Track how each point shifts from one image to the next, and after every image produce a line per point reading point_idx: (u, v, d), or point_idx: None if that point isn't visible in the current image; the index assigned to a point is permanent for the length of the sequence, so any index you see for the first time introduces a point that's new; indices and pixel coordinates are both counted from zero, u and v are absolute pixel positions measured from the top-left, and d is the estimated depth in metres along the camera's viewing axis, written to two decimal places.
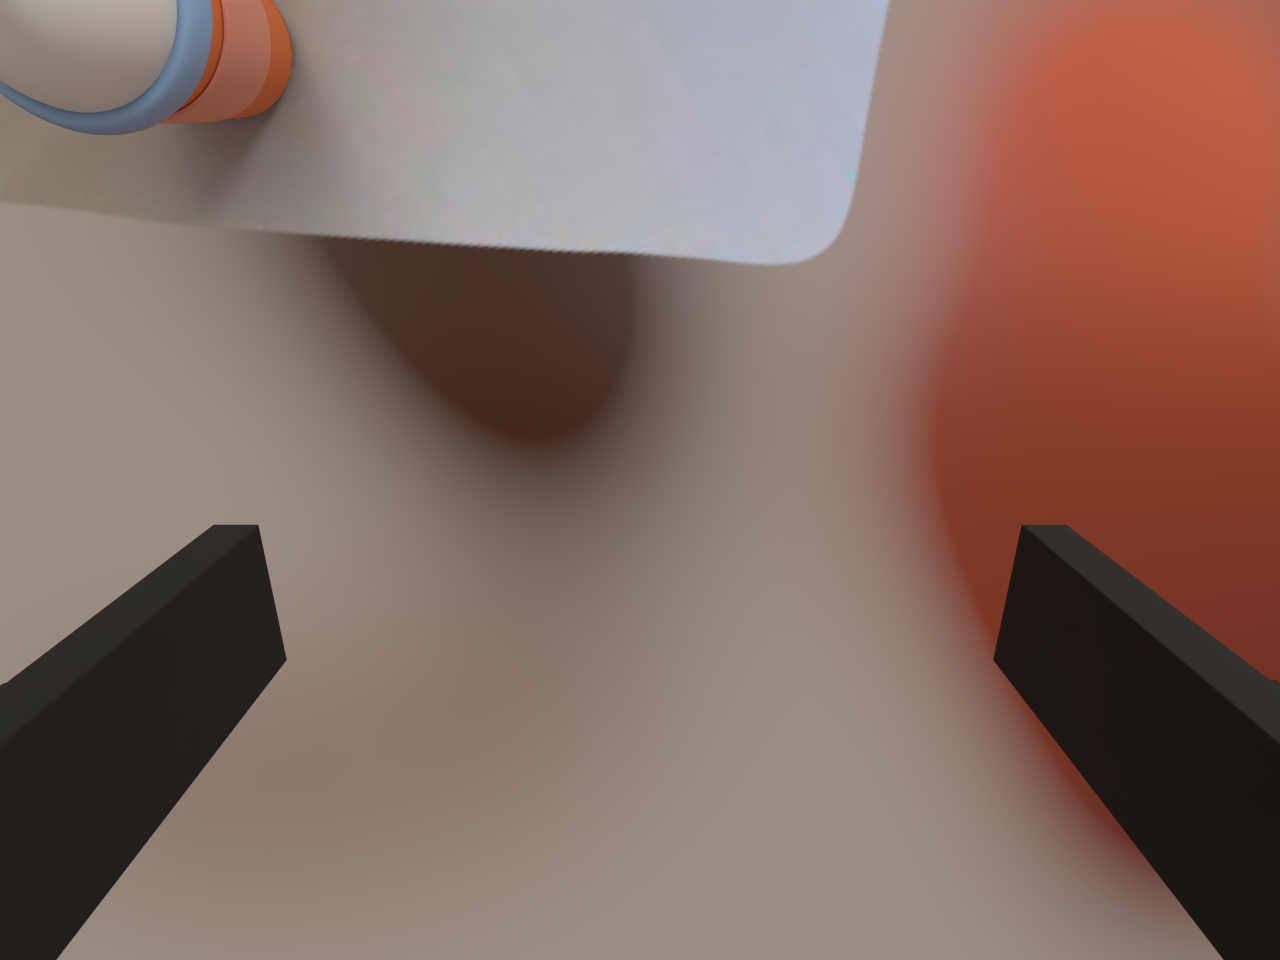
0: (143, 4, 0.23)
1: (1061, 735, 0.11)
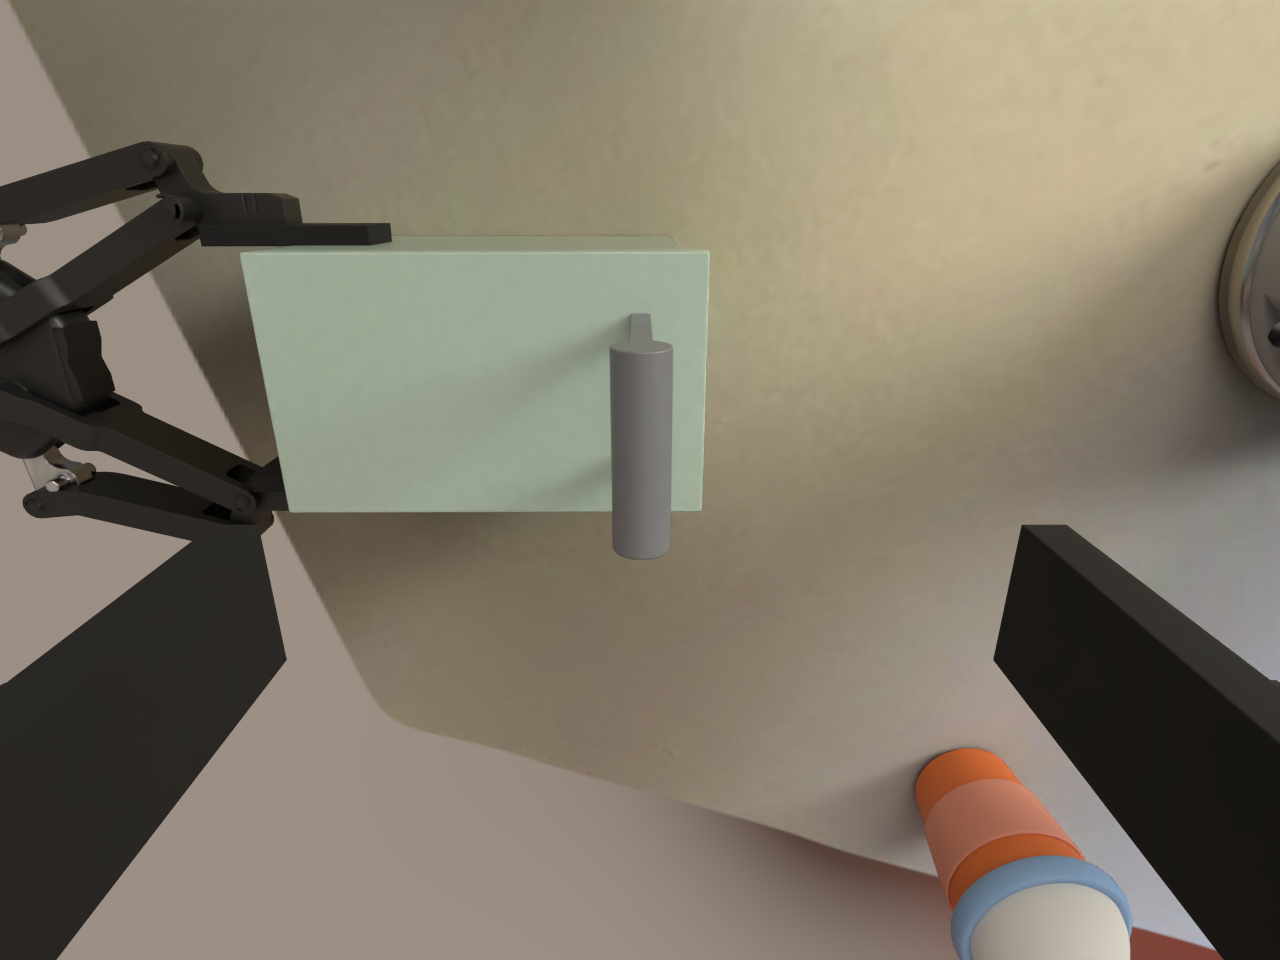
0: None
1: (1060, 734, 0.11)
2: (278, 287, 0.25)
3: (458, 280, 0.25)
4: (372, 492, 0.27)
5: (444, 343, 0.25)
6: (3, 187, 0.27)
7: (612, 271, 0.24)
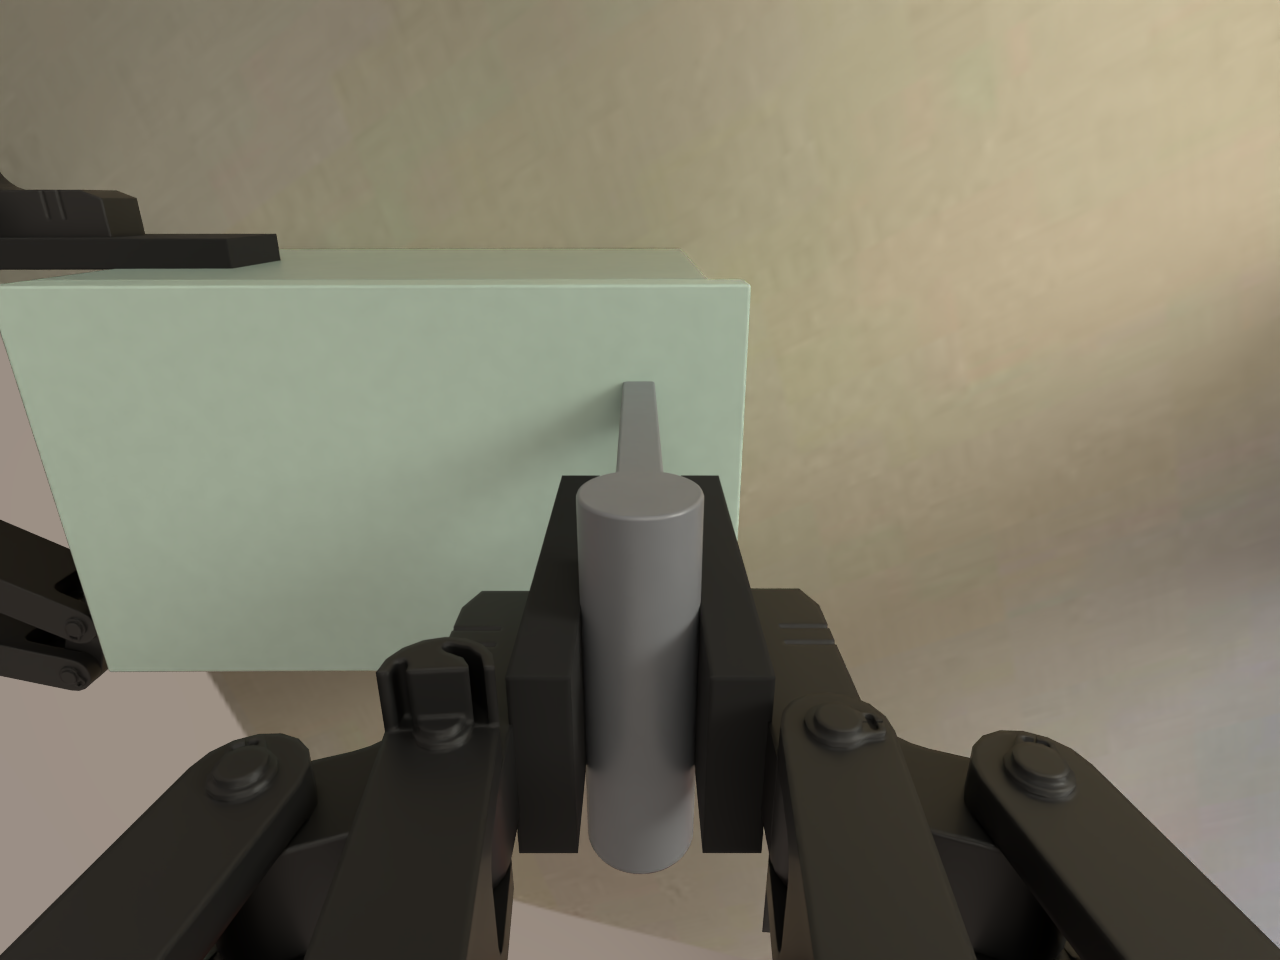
0: None
1: None
2: (55, 340, 0.15)
3: (345, 329, 0.15)
4: (232, 643, 0.18)
5: (328, 427, 0.16)
6: None
7: (593, 315, 0.15)
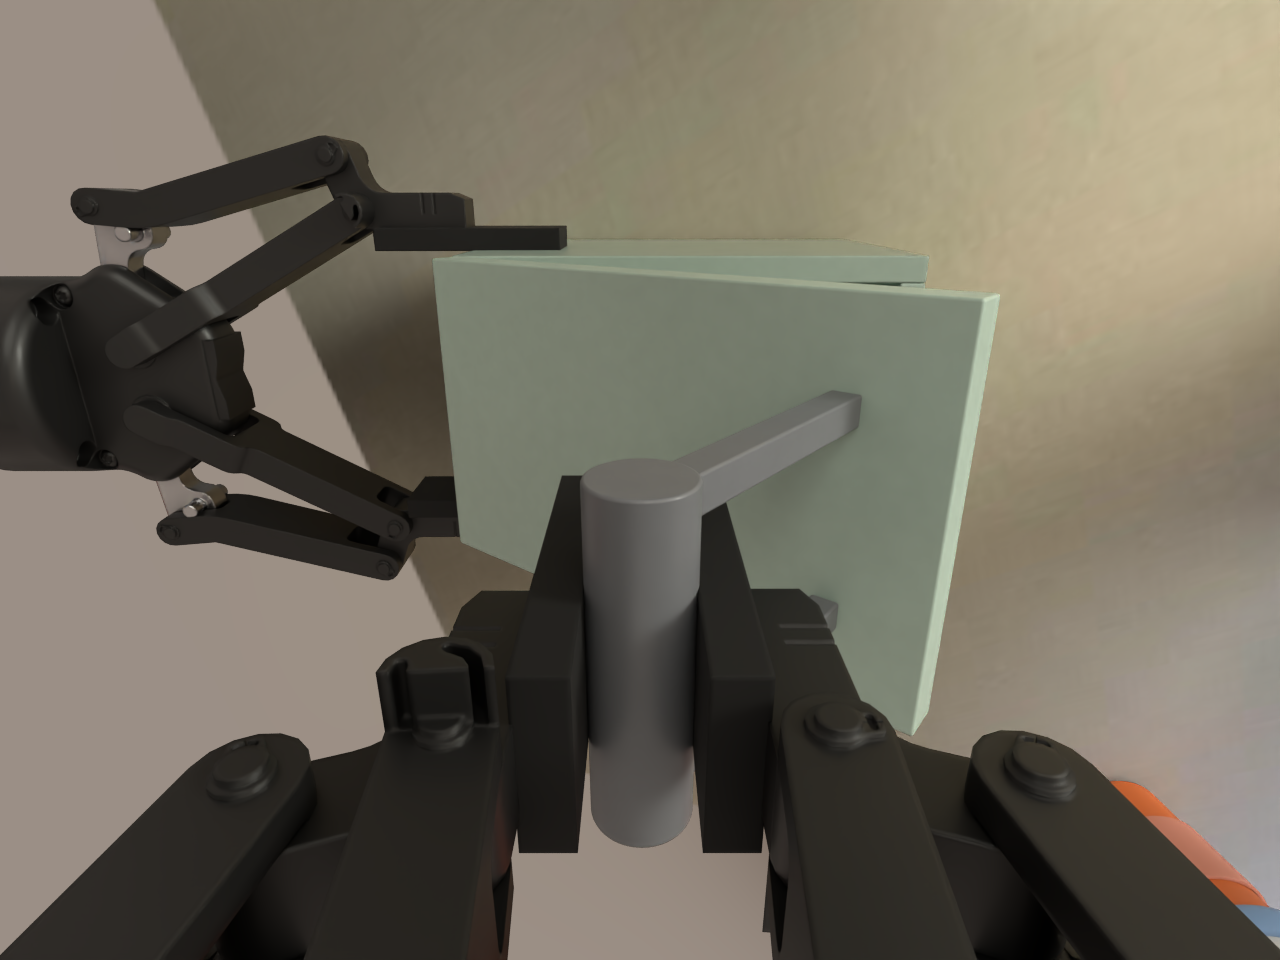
0: None
1: None
2: (458, 299, 0.22)
3: (615, 310, 0.18)
4: (523, 547, 0.23)
5: (596, 390, 0.19)
6: (161, 186, 0.25)
7: (809, 318, 0.15)
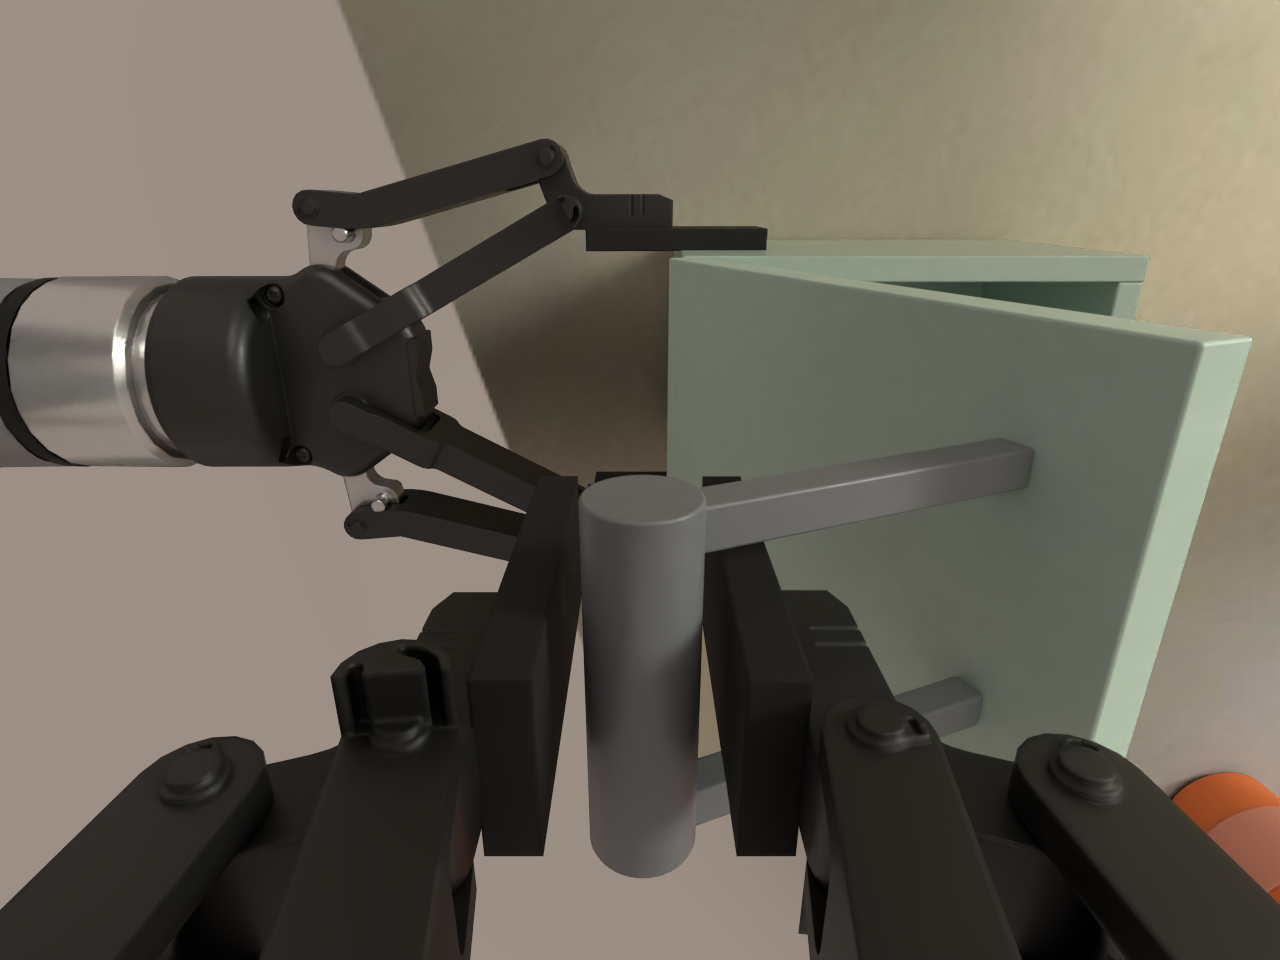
0: None
1: (708, 647, 0.13)
2: (683, 298, 0.22)
3: (802, 320, 0.17)
4: None
5: (779, 402, 0.18)
6: (382, 188, 0.25)
7: (986, 347, 0.12)
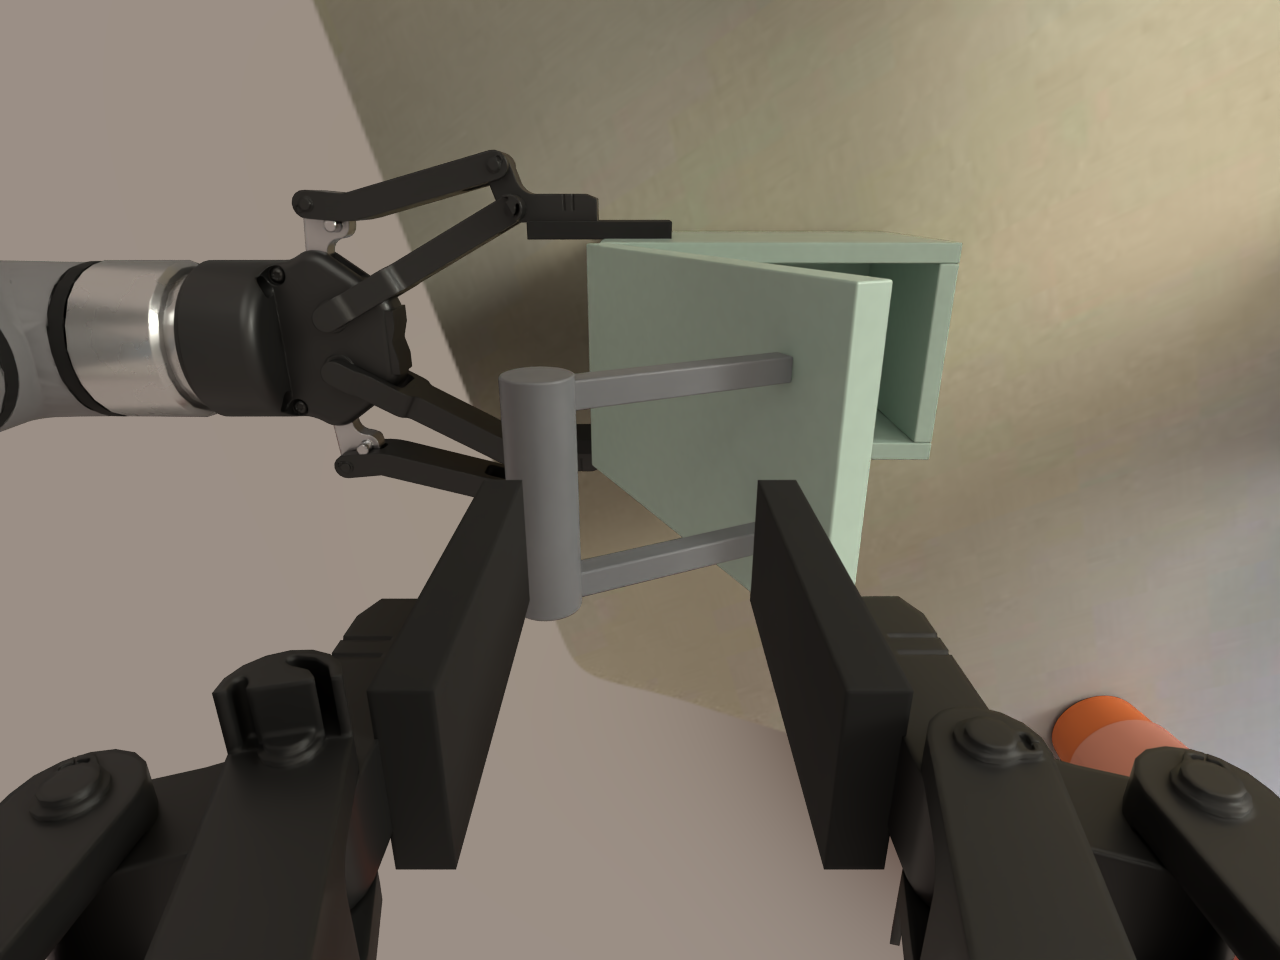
0: None
1: (768, 654, 0.13)
2: (597, 275, 0.29)
3: (672, 285, 0.23)
4: (622, 470, 0.30)
5: (661, 347, 0.25)
6: (364, 188, 0.32)
7: (767, 294, 0.19)
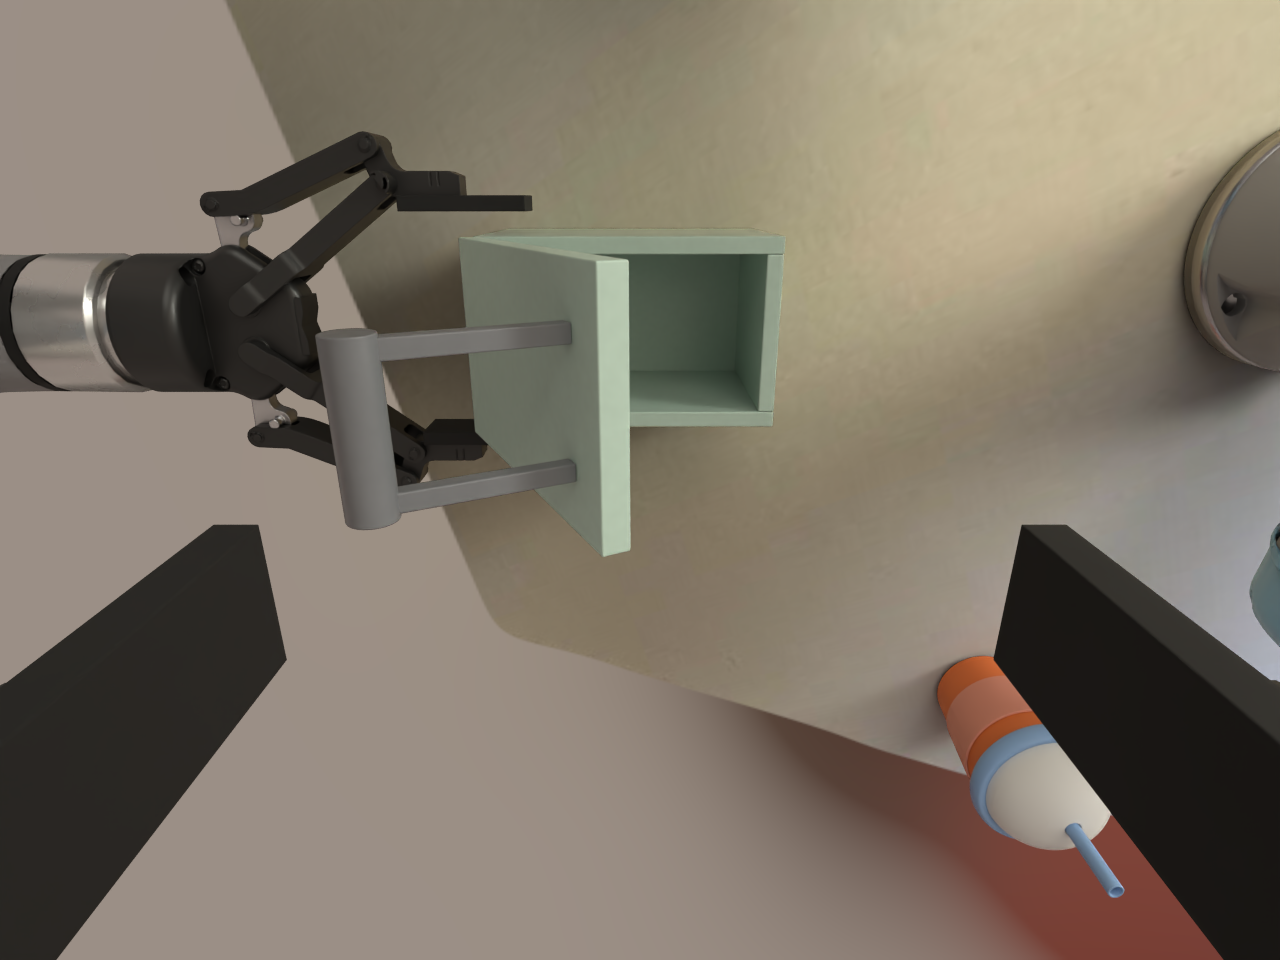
0: None
1: (1061, 734, 0.11)
2: (466, 264, 0.33)
3: (507, 270, 0.28)
4: (492, 433, 0.34)
5: (505, 323, 0.29)
6: (258, 183, 0.37)
7: (555, 274, 0.24)
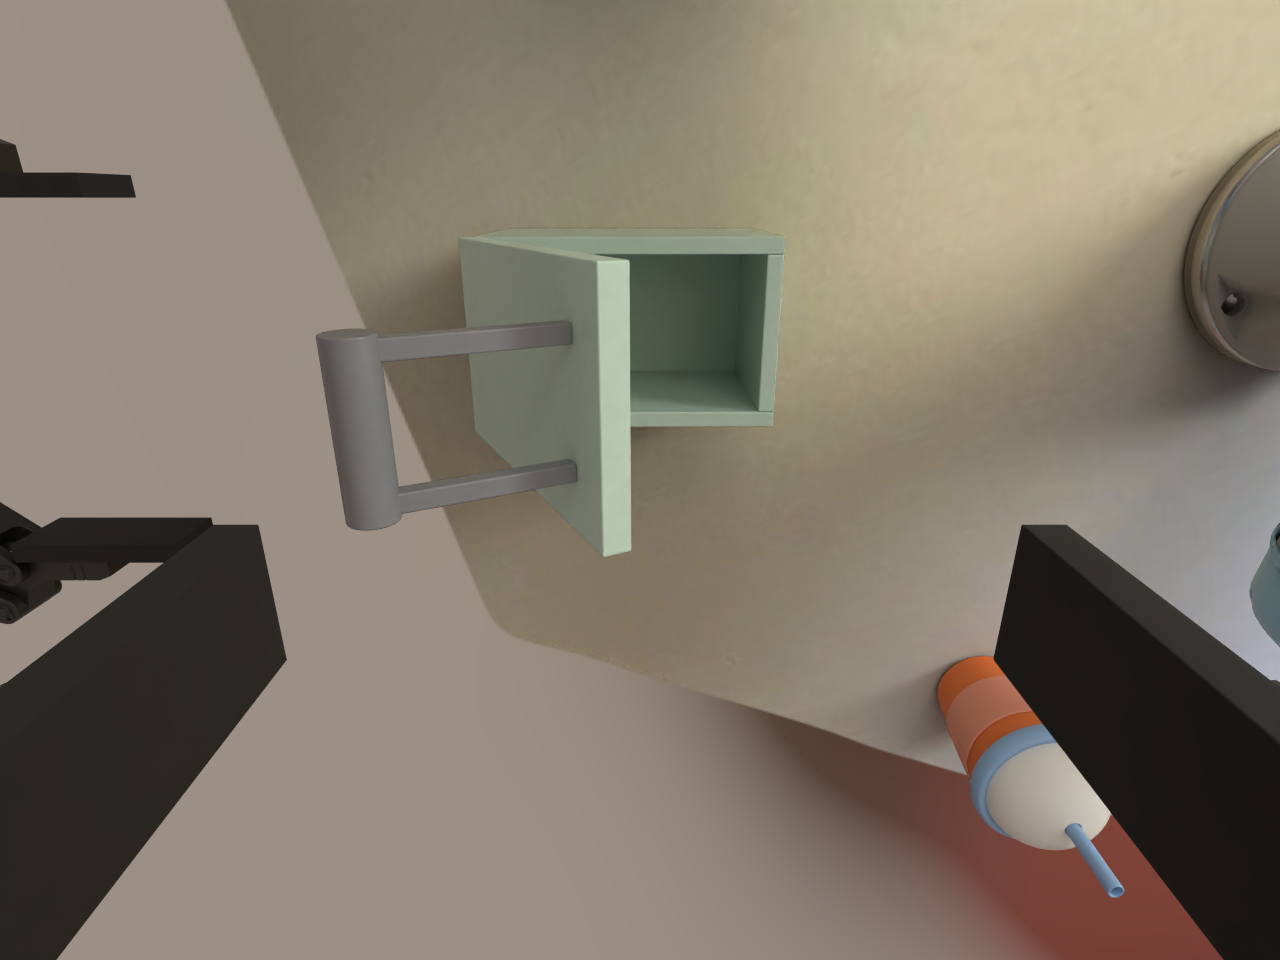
0: None
1: (1061, 734, 0.11)
2: (466, 264, 0.33)
3: (507, 270, 0.28)
4: (492, 433, 0.34)
5: (505, 323, 0.29)
6: None
7: (555, 274, 0.24)
